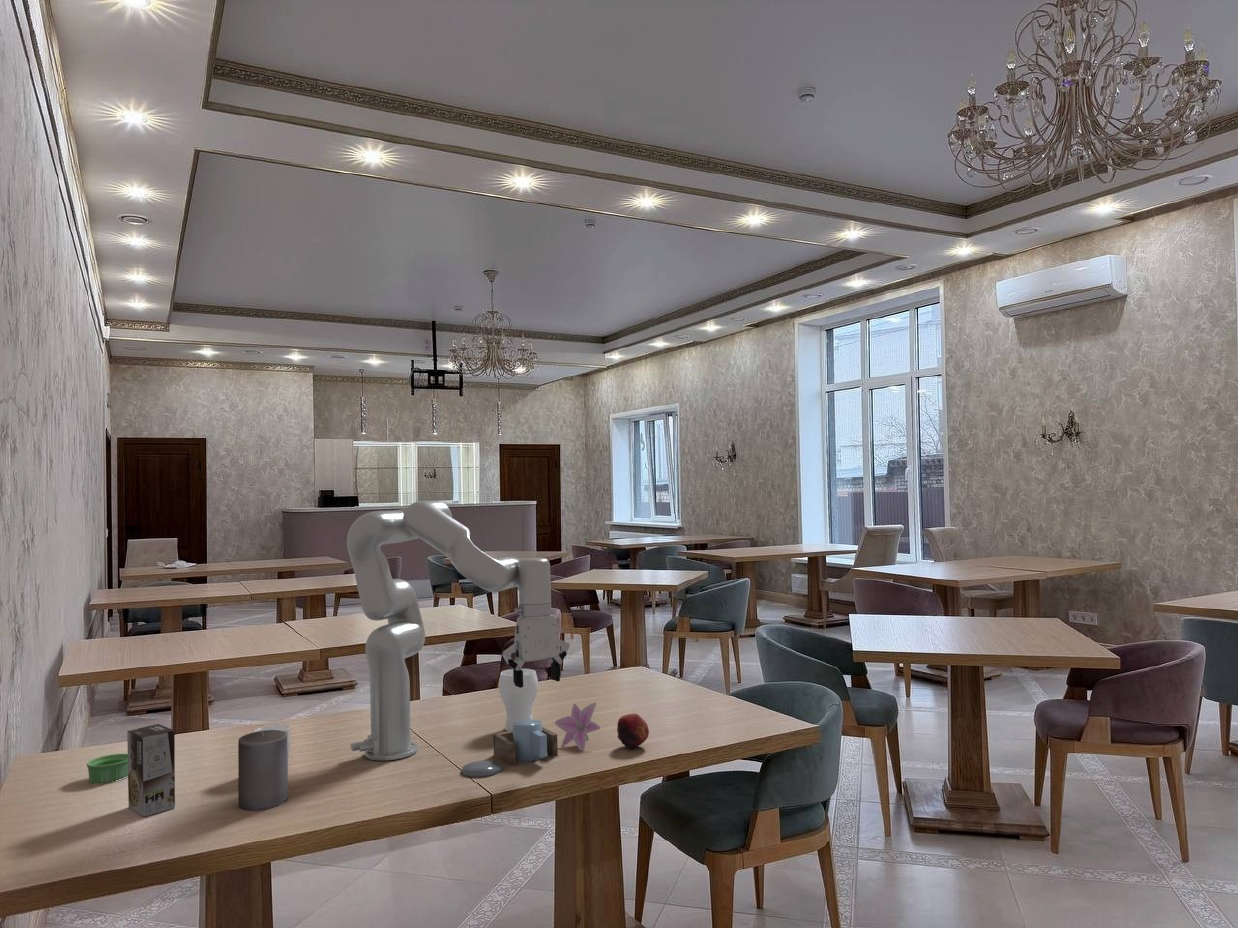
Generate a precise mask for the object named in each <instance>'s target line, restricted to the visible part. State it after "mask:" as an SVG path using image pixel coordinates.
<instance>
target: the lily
mask: <svg viewBox="0 0 1238 928" xmlns="http://www.w3.org/2000/svg"><path fill="white" fill-rule="evenodd" d="M596 706H597V702H592V703H590V704H588V705H587V706H585V707H583V708H582V709H580V708H579V706H578V705H577V703H573V704H572V707H571V713H570V714H571V715H570V716H569V715H567V716H564V717H561V718H559V719H556V720H555V721H554V724H555V725H556V726H557V727H558V728H559V729H561V730H562V731H564V732H565V735H564V738H563V740H562V743H561V747H564V746H566V745H568V744H570V743H571V742H572V741H573V742H574V743H575V745H576V746H577V747H578V748H579V749H580V750H581V751H584V750H585V746H586V741H587V740H589V735H588V734H589V733H593V732H596V731H598V730H600V729H601V727H600V725H599V724H597V723H596V722H594V721H593V720H592V717H593V715H594V711H595V709H596Z"/></svg>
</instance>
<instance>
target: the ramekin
mask: <svg viewBox="0 0 1238 928" xmlns="http://www.w3.org/2000/svg"><path fill="white" fill-rule="evenodd" d="M86 767H87V770H88V771H87V772H88V778H89V779H88V780H89V782H90V784H93V783H105V784H107V783H106V782H111V783H113V782H112V781H116V780H119V779H122V778H124V777H126V776H128V753H112V754H106V755H103V756H102V755H101V756H98V757H95V758H93V759H90V760H89V761H88V762H86ZM126 778H127V777H126ZM122 780H123V779H122ZM119 781H120V780H119ZM116 782H117V781H116Z"/></svg>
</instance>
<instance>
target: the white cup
mask: <svg viewBox="0 0 1238 928" xmlns="http://www.w3.org/2000/svg"><path fill="white" fill-rule="evenodd" d="M262 730H263V731H264V730H280V731H284V732H287V734H288V735H287V747H288V750H287V753H288V760H289V759H290V747H291V744H290V743H291V726H290V725H287V724H272V725H266V726H262V727H259V728H257V729H254V731H253V732H258V731H262Z"/></svg>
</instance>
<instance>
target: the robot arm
mask: <svg viewBox="0 0 1238 928" xmlns="http://www.w3.org/2000/svg"><path fill="white" fill-rule="evenodd" d="M418 539H420V540H422V541H423V542H424V543H426V544H428V545H429V546H431V547H432V548H433V549H435V550H437V551H438V552H440V553H441V554H443V555H444V556H446V557H447V559H448V560H449V561H450V563H451V565H453V567H454V568H455V570H456V571H457V572H458V573H459V574H460V575H462V577H464V578H465V579H467V580H468V581H470V582H472V583H473V584H475V585H476V586H478V587H479V588H480V589H483V590H485V591H488V592H490V593H499V592H501V591H505V590H509V589H510V590H511V589H513V588H516V587H518V602H519V604H518V607H515V608H514V609H513V610H514V613H515V614H518V615H519V616H518V617H517V618H516V623H515V629H514V643H513V644H512V645H510V646H509V647H508V648H506V649H505V650H503V651H502V652H501V655H502V657H503V659H504V661H505V663H506V665H508V666H509V667H510V668H511V669H513V681H514V684H515V686H517V687H519V688H522V687H523V671H522V670H521V669H522V667H523V666H524V664H525V663H526V662H527V663H529V662H536V661H542V660H549V659H550V660H551V663H550V678H551V680H552V681H555V682H560V680H561V675H562V671H561V670H562V669H561V665H562V664H563V661H564V659H565V658H566V656H567V654H568V651H569V648H570V643H569V642H567V641H564V640H562V639H560V633H559V629H558V628H559V627H558V624H557V619H556V615H555V614H552V589H551V587H552V586H551V585H552V584H551V563H550V561H549V560H548V558H546V557H529V558H522V557H520V558H519V557H515V556H506V557H500V558H499V557H498V558H493V557H492V556H490V555H488V554H486V552H484V551H482V550H481V549H479V548H478V547H477V546H476V545H475V544H474V543H473V541H472V540H471V530H470V529H469V528H468V527H467V526H465V525H464V524H462V523H461V522H459V521H458V520H456V519H454V518H453V515H452V511H451V510H450V508H449V506H448V505H447V504H445V503H444V502H443V501H440V500H418V501H415V502H412V503H410V505H408V506H407V507H405V508H402V509H394V510H393V509H392V510H374V511H370V512H365V513H364V514H362V515H360V516H359V517H358V518H356V519H355V521H353V523H352V524H351V526H350V528H349V530H348V533H347V535H346V547H347V553H348V556H349V558H350V559H349V560H350V562H351V565H352V569H353V573H354V578H355V579H354V580H355V583H356V588H357V592H358V595H359V600H360V605H361V609H362V611H363V613H364V616H365V617H366V618H368V619H369V620H371V621H382V620H387V622H388V623H387V624H384V625H381V626H379V627H377V628H376V629H374V630H373V631H372V632H370V634H369V635H368V636H367V639H366V642H365V656H366V661H367V666H368V667H367V668H368V672H369V673H368V675H369V691H370V692H369V694H370V695H369V699H370V700H369V702H370V735H367V739H364V740H363V741H355V742H351V743H350V750H351V751H352V752H354V751H355V752H356V751H359V753H361V752H364V757H365V758H367V759H368V760H372V761H382V762H383V761H395V760H399V759H404V758H407V757H410V756H412V755H414V754H416V753H417V752H418V745H417V744H416V743H415V742H413V741H412V738H411V734H412V733H411V731H412V730H411V729H412V728H411V687H410V675H409V674H410V673H409V670H408V667H407V664H406V660H405V659H407V658H410V657H413V656H414V655H417V654H418V653H419V652H421V651H422V649H423V647H424V645H425V641H426V631H425V626H424V622H423V619H422V618H423V617H422V613H421V610H420V605H419V600H418V597H417V594H416V592H415V590H414V588H413V586H412V585H411V584H410V583H409V582H407V581H406V580H404V579H401V578H393V577H392V573H391V570H390V564H389V562H388V559H387V557H386V556H385V554H384V553H383V551H382V549H381V546H383V545H391V544H398V543H400V544H401V543H404V542H408V541H413V540H418ZM513 653H514V656H515V659H514V660H513V658H512V654H513Z"/></svg>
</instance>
